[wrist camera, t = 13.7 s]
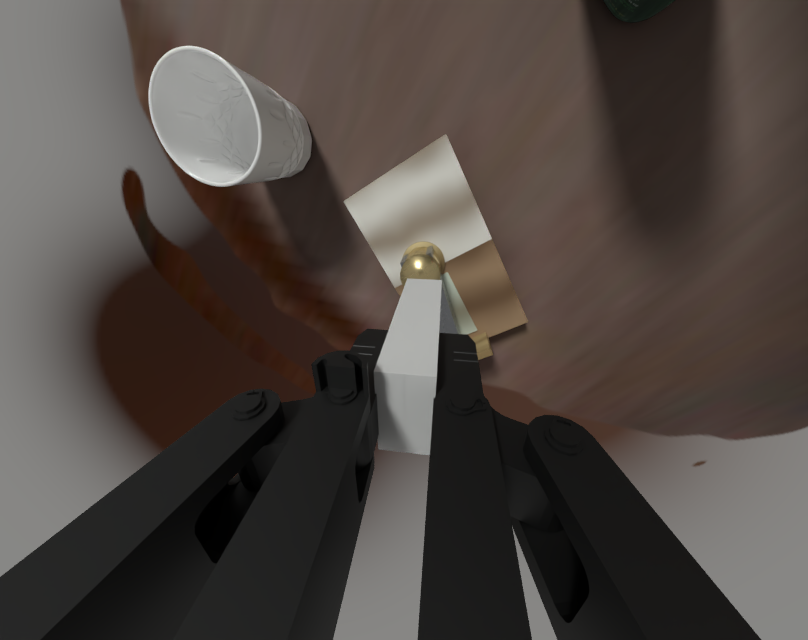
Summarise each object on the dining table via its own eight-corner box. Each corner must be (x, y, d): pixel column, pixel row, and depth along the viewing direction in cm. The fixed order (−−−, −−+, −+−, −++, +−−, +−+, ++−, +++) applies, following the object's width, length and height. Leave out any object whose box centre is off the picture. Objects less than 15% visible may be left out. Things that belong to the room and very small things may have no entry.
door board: (349, 199, 30) (331, 204, 25) (445, 136, 27) (446, 127, 22) (437, 349, 37) (436, 376, 32) (523, 314, 33) (537, 337, 28)
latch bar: (400, 253, 30) (394, 263, 26) (434, 241, 29) (432, 250, 25) (434, 345, 34) (433, 365, 30) (465, 338, 33) (467, 357, 29)
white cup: (240, 78, 27) (138, 29, 18) (323, 101, 27) (262, 65, 18) (241, 171, 30) (157, 170, 21) (314, 192, 30) (260, 199, 21)
